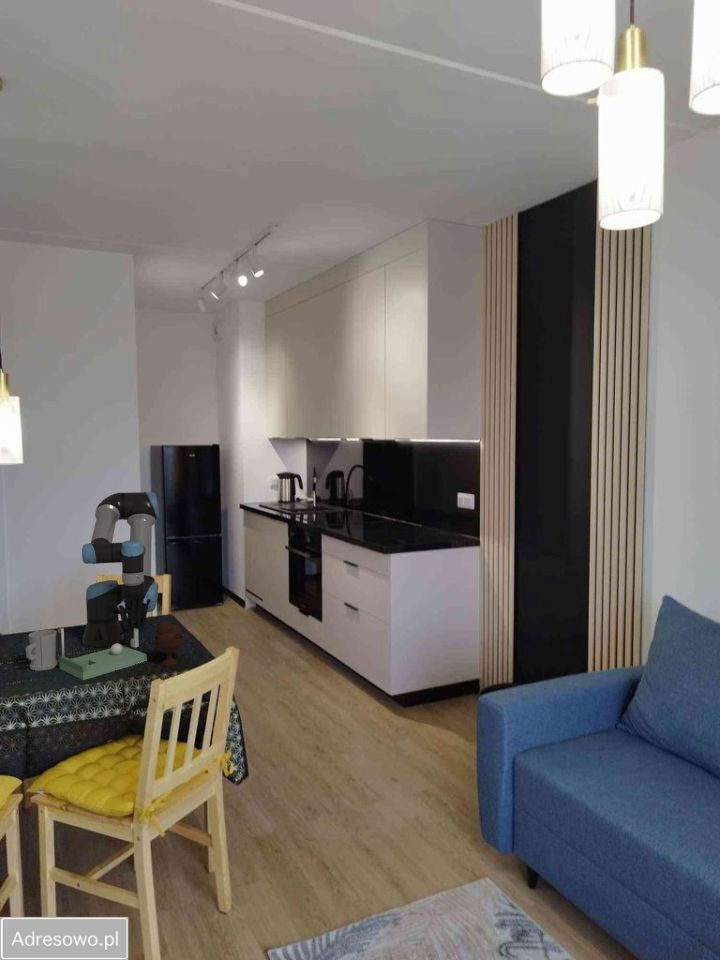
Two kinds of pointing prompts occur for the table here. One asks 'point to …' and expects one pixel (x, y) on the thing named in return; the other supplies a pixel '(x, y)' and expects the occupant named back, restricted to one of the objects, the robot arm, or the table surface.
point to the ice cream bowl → (168, 641)
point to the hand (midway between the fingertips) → (134, 646)
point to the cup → (42, 650)
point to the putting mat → (99, 661)
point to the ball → (116, 649)
